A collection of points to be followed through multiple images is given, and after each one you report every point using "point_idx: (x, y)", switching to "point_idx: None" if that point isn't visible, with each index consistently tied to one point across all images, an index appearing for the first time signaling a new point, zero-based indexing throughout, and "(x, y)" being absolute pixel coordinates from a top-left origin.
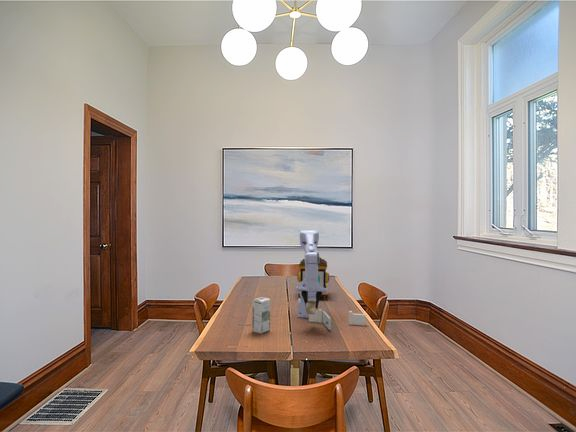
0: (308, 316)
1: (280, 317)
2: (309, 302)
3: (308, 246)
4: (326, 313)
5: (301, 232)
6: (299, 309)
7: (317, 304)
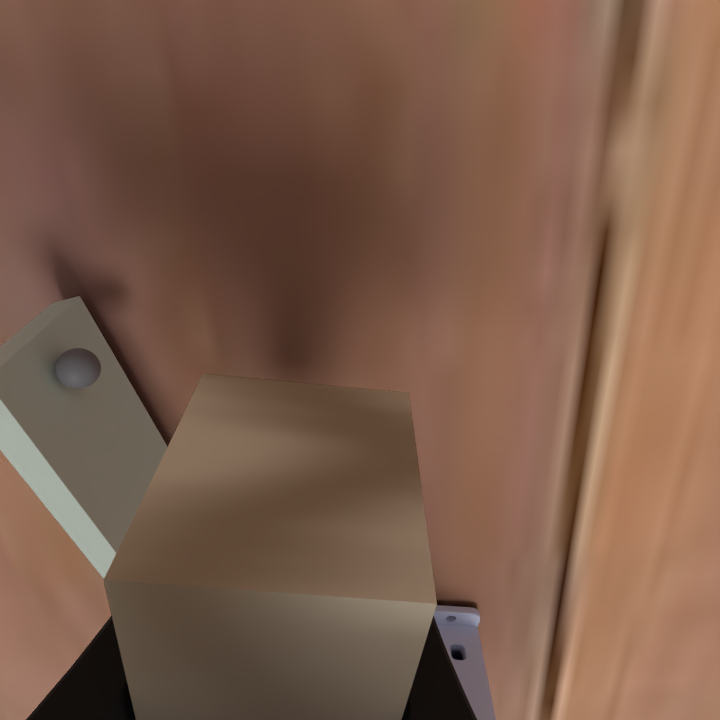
0: None
1: (652, 593)
2: (322, 698)
3: None
4: (104, 576)
5: None
6: (474, 692)
7: (97, 643)
